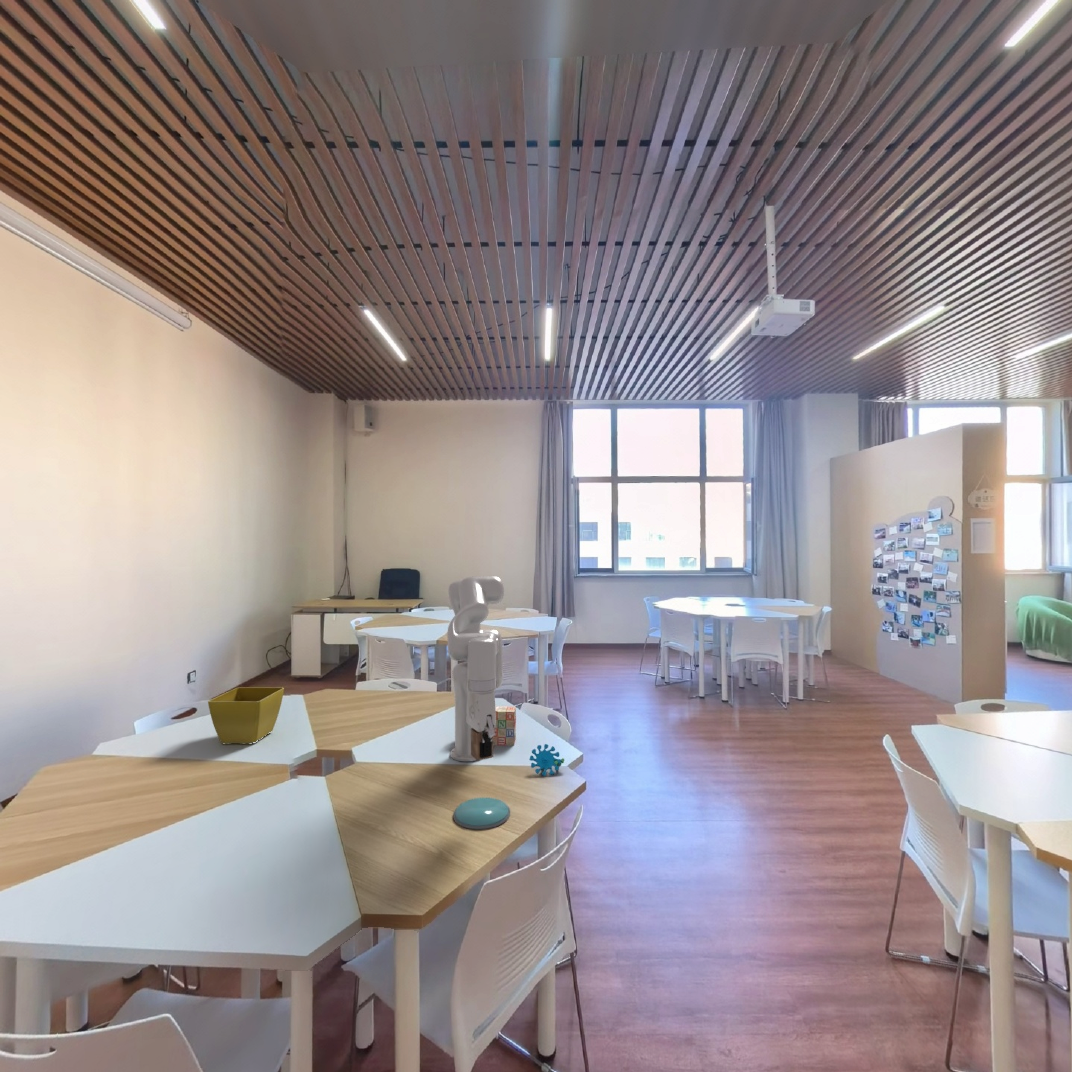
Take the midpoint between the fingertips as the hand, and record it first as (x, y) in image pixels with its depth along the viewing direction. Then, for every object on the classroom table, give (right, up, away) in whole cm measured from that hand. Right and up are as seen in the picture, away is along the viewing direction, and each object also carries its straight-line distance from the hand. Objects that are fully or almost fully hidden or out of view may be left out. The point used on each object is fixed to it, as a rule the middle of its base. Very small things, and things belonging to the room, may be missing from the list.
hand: (481, 752), depth 139 cm
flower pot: (-94, -19, +57) cm, 112 cm away
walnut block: (0, -1, 0) cm, 1 cm away
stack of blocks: (-4, -18, +52) cm, 56 cm away
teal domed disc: (0, -16, -1) cm, 16 cm away
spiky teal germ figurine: (+18, -17, +26) cm, 36 cm away
